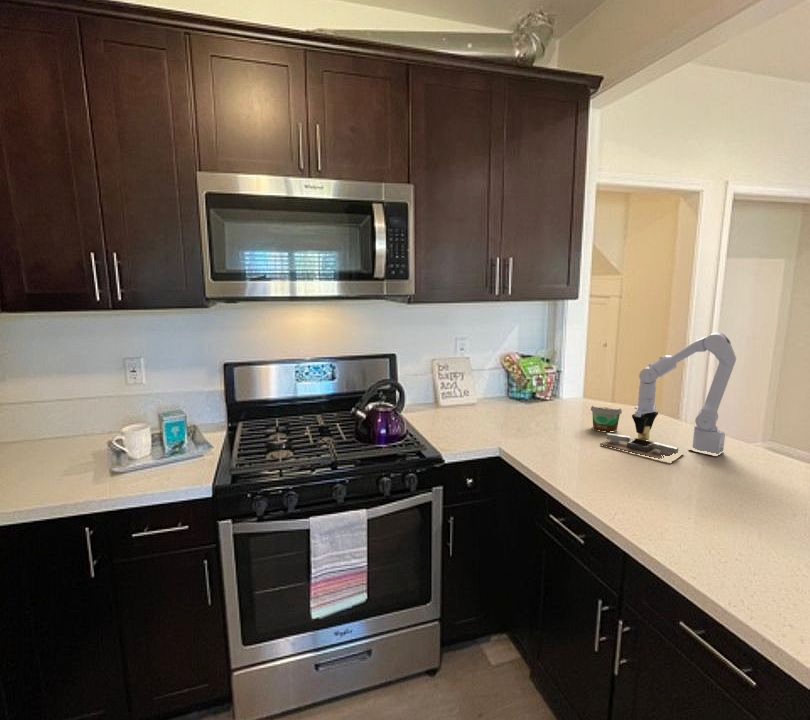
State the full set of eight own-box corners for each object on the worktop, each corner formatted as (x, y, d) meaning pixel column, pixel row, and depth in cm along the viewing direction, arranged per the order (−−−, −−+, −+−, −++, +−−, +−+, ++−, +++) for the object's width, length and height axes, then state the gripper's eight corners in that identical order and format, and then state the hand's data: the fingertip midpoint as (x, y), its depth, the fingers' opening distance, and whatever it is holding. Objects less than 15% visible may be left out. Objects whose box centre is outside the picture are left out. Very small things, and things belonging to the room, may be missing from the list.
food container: (587, 430, 199) (589, 408, 197) (589, 426, 204) (590, 404, 203) (619, 435, 193) (621, 411, 192) (620, 430, 199) (622, 408, 197)
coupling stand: (683, 455, 171) (684, 444, 170) (669, 464, 163) (670, 453, 162) (615, 438, 190) (616, 428, 189) (600, 445, 181) (600, 435, 181)
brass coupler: (650, 440, 187) (651, 425, 186) (646, 442, 184) (647, 428, 183) (640, 438, 190) (641, 423, 189) (635, 440, 187) (637, 425, 186)
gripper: (644, 392, 192) (641, 424, 194) (628, 398, 182) (625, 432, 185) (662, 396, 186) (659, 428, 189) (647, 402, 177) (643, 436, 179)
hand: (643, 430), depth 186 cm, fingers open, 7 cm apart
